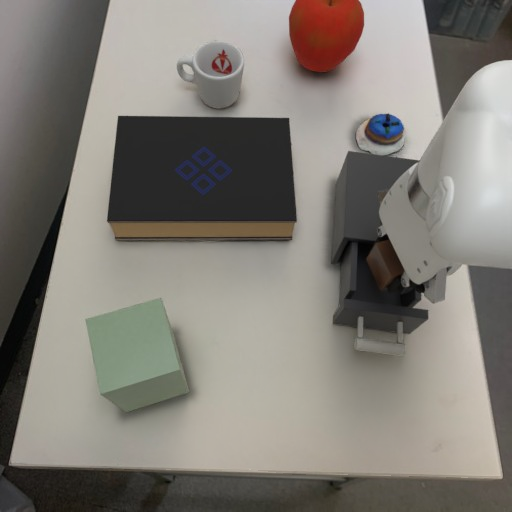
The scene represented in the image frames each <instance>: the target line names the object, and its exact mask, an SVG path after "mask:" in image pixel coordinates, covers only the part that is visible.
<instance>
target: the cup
mask: <svg viewBox="0 0 512 512" xmlns="http://www.w3.org/2000/svg"><path fill="white" fill-rule="evenodd" d="M184 65H185V66H188V67H190V69H191V70H192V74H189V73H188V72H186V71H185V69H184V67H183V66H184ZM244 68H245V57H244V53H243V51H241V49H240V48H239V47H238V46H236V45H235V44H233V43H231V42H228V41H225V40H224V41H223V40H212V41H208V42H205V43H202V44H200V45H199V47H197V48H196V49H195V51H194V53H193V54H192V55H182V56H181V57H179V58H178V60H177V62H176V71H177V74H178V76H179V77H180V79H182V80H183V81H184V82H187V83H192V84H195V85H196V87H197V91H198V95H199V97H200V99H201V101H202V102H204V104H205V105H206V106H208V107H211V108H213V109H226V108H228V107H230V106H232V105H233V104H235V102H236V101H237V99H238V97H239V95H240V91H241V85H242V80H243V73H244Z"/></svg>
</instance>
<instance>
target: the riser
mask: <svg viewBox="0 0 512 512" xmlns="http://www.w3.org/2000/svg"><path fill="white" fill-rule="evenodd" d="M85 324H86V330H87V335H88V339H89V345H90V350H91V355H92V360H93V365H94V370H95V376H96V380H97V385H98V390H99V395H100V396H102V397H103V398H105V399H106V400H108V401H109V402H111V404H113V405H115V406H117V407H118V408H119V409H121V410H122V411H123V412H125V413H129V412H133V411H135V410H138V409H141V408H144V407H148V406H152V405H154V404H157V403H160V402H163V401H166V400H170V399H173V398H176V397H179V396H182V395H185V394H188V393H190V390H189V385H188V382H187V377H186V375H185V371H184V367H183V364H182V363H183V362H182V359H181V356H180V351H179V347H178V344H177V341H176V340H177V339H176V337H175V334H174V329H173V327H172V325H171V322H170V319H169V316H168V313H167V311H166V308H165V305H164V302H163V299H162V297H159V298H156V299H152V300H148V301H145V302H141V303H138V304H134V305H130V306H127V307H123V308H119V309H117V310H112V311H109V312H106V313H102V314H99V315H95V316H91V317H88V318H85Z"/></svg>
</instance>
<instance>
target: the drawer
mask: <svg viewBox="0 0 512 512" xmlns="http://www.w3.org/2000/svg"><path fill="white" fill-rule="evenodd" d="M373 245H374V244H372V243H365V242H357V241H350V240H348V242H347V244H346V246H345V248H344V250H343V252H342V262H341V265H340V285H339V304H338V308H337V309H336V311H335V312H334V314H333V316H332V325H336V326H345V327H346V326H347V327H351V328H357V331H356V337H355V339H354V345H353V347H354V350H355V351H361V352H368V353H375V354H376V353H377V354H385V355H391V356H392V355H393V356H398V357H405V355H406V352H407V346H406V344H405V343H404V335H405V334H406V335H410V334H411V333H413V332H414V331H415V330H417V329H418V328H419V327H420V326H422V325H424V323H425V322H427V321H428V320H429V309H423V308H417V307H415V306H416V305H418V303H420V302H421V300H422V293H418V292H417V291H415V290H414V289H412V290H411V291H409V292H407V293H404V294H399V292H398V291H396V292H393V293H388V291H387V289H386V290H382V291H380V289H379V287H378V284H377V282H376V280H375V278H374V276H373V273H372V271H371V269H370V267H369V265H368V262H367V260H366V258H367V257H368V255H369V253H370V252H369V251H370V250H371V248H372V246H373ZM364 329H368V330H375V331H384V332H390V333H396V342H392V341H385V340H378V339H371V338H364Z"/></svg>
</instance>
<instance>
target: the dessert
mask: <svg viewBox="0 0 512 512" xmlns="http://www.w3.org/2000/svg"><path fill="white" fill-rule="evenodd" d="M404 126H405V125H404V123H402V120H401V119H400V118H398V117H397V116H395V115H393V114H390V113H389V112H388V113H379V114H376V115H373V116H372V117H370V118H368V119H366V120H364V121H363V122H362V123H361V124H359V126H358V127H357V129H356V132H355V140H356V143H357V145H358V147H359V149H360V150H361V151H366V152H369V153H370V154H375V155H383V156H389V155H391V154H393V153H395V152H398V151H400V150H401V149H402V148H403V146H404V144H405V142H406V136H405V134H404V131H405V127H404Z"/></svg>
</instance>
